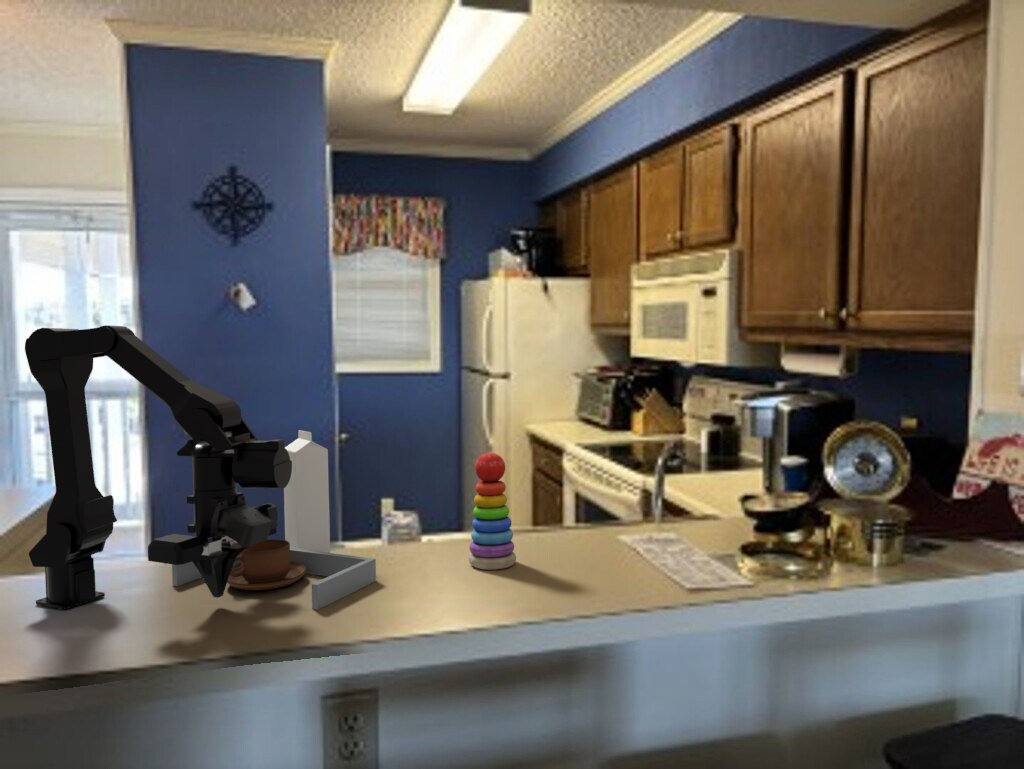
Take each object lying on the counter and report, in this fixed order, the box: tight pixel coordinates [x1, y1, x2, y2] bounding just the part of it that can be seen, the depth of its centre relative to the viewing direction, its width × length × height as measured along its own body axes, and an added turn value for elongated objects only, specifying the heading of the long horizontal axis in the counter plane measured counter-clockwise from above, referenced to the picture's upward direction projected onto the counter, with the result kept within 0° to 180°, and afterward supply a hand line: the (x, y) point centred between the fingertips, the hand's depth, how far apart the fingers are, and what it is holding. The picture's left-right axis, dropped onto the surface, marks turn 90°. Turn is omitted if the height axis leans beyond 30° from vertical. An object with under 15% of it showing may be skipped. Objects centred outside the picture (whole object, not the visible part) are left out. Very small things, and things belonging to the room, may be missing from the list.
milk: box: [283, 429, 331, 553], centre depth 132 cm, size 6×6×22 cm
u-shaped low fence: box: [171, 548, 377, 610], centre depth 116 cm, size 28×14×4 cm, turn 66°
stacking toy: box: [468, 452, 517, 571], centre depth 125 cm, size 8×8×19 cm
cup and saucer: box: [227, 538, 306, 591], centre depth 116 cm, size 12×12×6 cm
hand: (218, 596), depth 106 cm, fingers closed
